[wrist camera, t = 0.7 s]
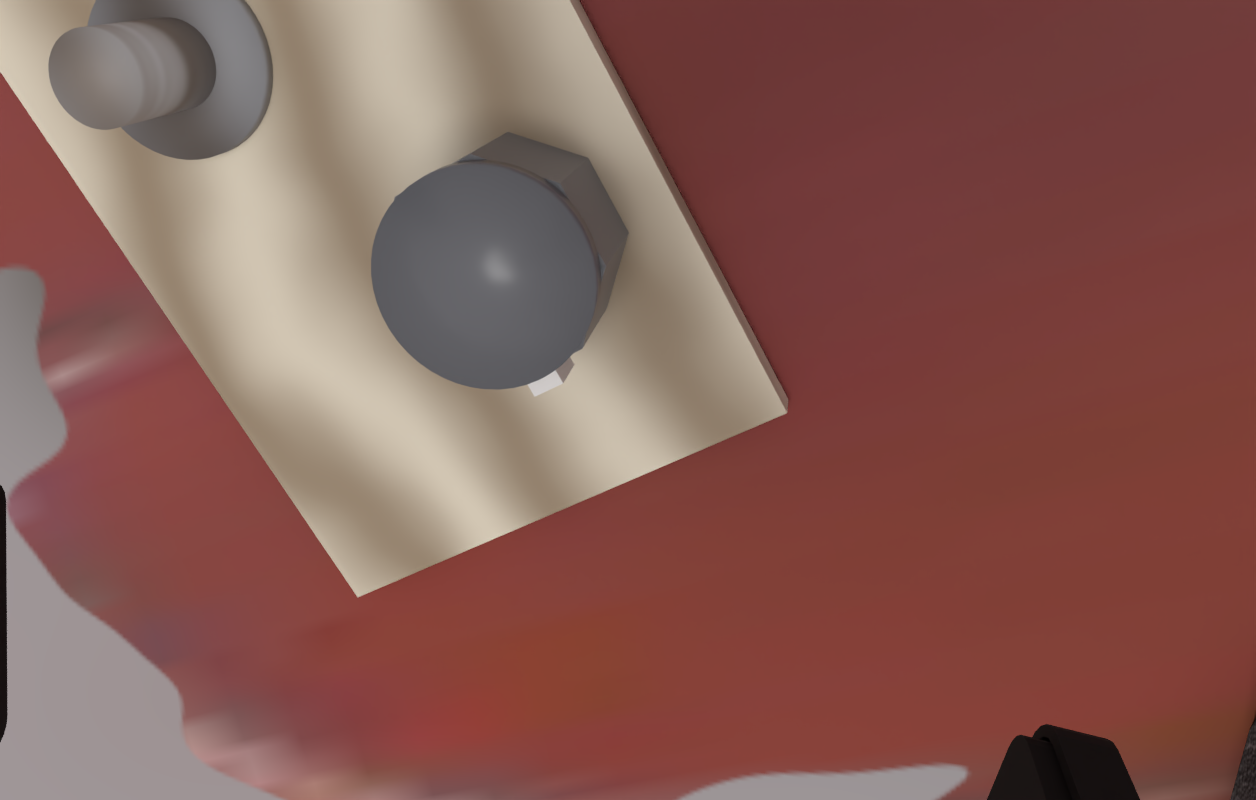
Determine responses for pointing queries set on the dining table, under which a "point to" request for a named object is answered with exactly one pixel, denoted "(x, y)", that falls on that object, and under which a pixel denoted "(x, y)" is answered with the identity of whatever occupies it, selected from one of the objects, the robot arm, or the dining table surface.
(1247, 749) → the hammer
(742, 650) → the dining table surface
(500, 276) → the cap
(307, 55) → the board
